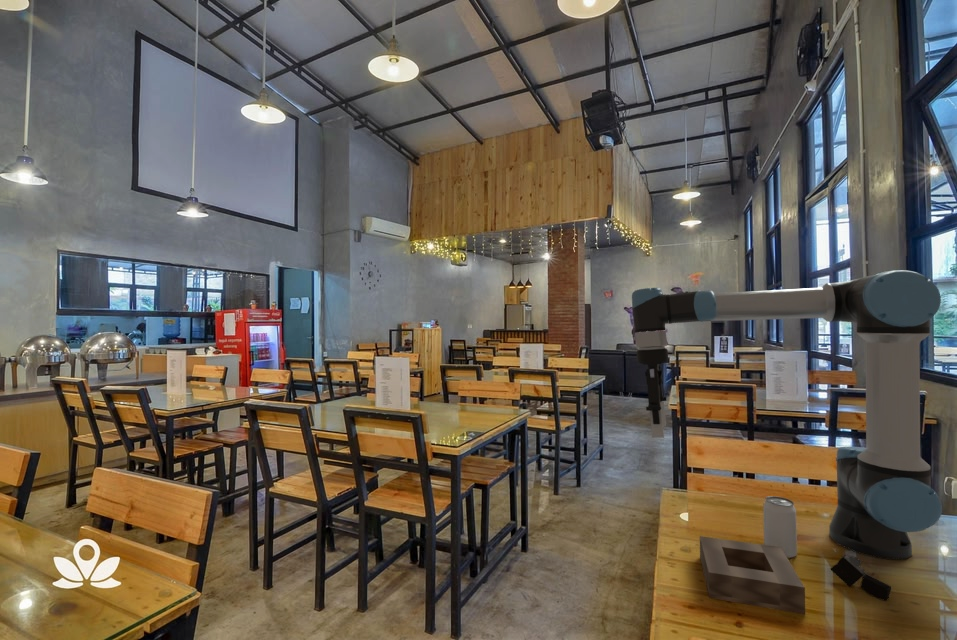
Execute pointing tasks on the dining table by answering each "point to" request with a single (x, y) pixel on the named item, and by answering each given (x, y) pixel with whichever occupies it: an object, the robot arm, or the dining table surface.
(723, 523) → the dining table surface
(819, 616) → the dining table surface
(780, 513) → the can
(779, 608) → the socket block
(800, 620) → the dining table surface
